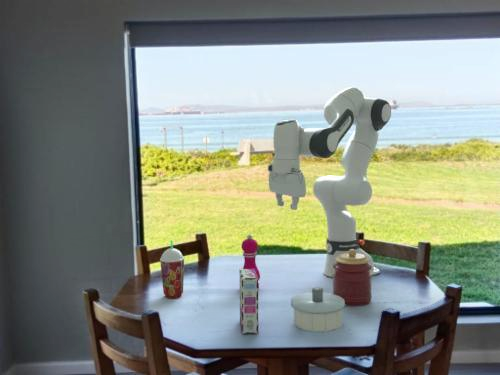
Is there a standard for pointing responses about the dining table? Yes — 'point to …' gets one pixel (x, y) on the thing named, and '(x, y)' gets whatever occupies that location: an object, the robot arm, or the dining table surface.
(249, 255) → the pepper mill
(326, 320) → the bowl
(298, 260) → the dining table surface
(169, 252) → the smoothie
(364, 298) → the canister
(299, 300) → the lid
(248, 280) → the candy bar box
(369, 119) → the robot arm
